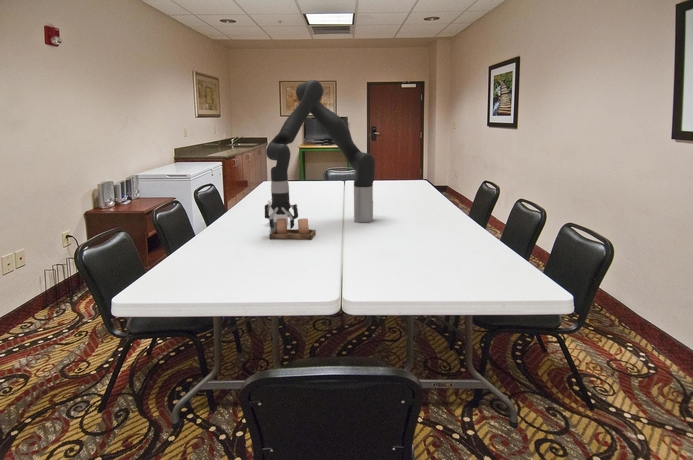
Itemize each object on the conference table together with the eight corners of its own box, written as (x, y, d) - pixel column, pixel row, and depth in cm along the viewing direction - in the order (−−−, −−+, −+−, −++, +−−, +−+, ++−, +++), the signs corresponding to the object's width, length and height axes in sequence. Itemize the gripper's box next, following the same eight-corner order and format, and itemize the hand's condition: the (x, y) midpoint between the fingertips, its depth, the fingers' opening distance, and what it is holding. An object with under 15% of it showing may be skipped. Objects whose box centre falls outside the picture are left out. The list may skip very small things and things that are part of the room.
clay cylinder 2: (308, 233, 208) (307, 218, 206) (309, 235, 204) (308, 219, 202) (298, 234, 207) (297, 219, 206) (299, 236, 203) (297, 220, 202)
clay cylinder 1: (287, 233, 209) (286, 218, 208) (287, 236, 205) (286, 220, 203) (277, 234, 209) (276, 218, 207) (277, 236, 205) (276, 220, 203)
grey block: (281, 229, 219) (281, 219, 218) (281, 232, 214) (281, 221, 213) (270, 230, 219) (270, 219, 217) (270, 232, 214) (270, 222, 212)
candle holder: (285, 227, 224) (284, 202, 221) (266, 226, 226) (264, 201, 223) (292, 222, 233) (291, 198, 230) (273, 221, 235) (272, 197, 232)
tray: (315, 234, 210) (315, 229, 210) (311, 239, 201) (311, 235, 200) (276, 233, 212) (275, 229, 212) (269, 239, 203) (269, 234, 202)
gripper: (298, 189, 205) (299, 226, 209) (266, 189, 207) (268, 225, 211) (294, 192, 198) (296, 230, 202) (261, 192, 200) (263, 229, 204)
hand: (282, 227), depth 206 cm, fingers open, 8 cm apart
